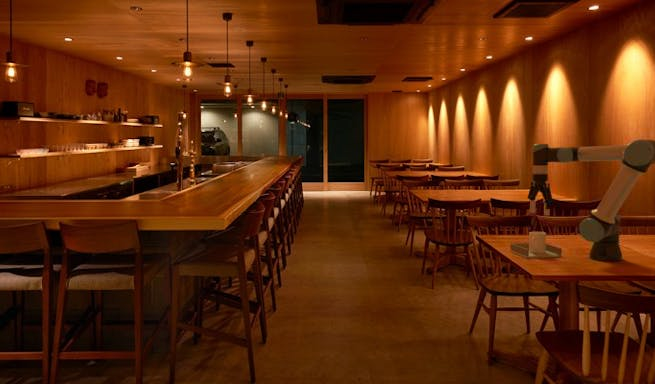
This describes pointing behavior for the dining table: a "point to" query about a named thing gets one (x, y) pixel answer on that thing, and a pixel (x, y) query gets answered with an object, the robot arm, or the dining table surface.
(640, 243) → the dining table surface
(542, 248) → the mug
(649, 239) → the dining table surface
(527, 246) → the shallow square tray
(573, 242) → the dining table surface
